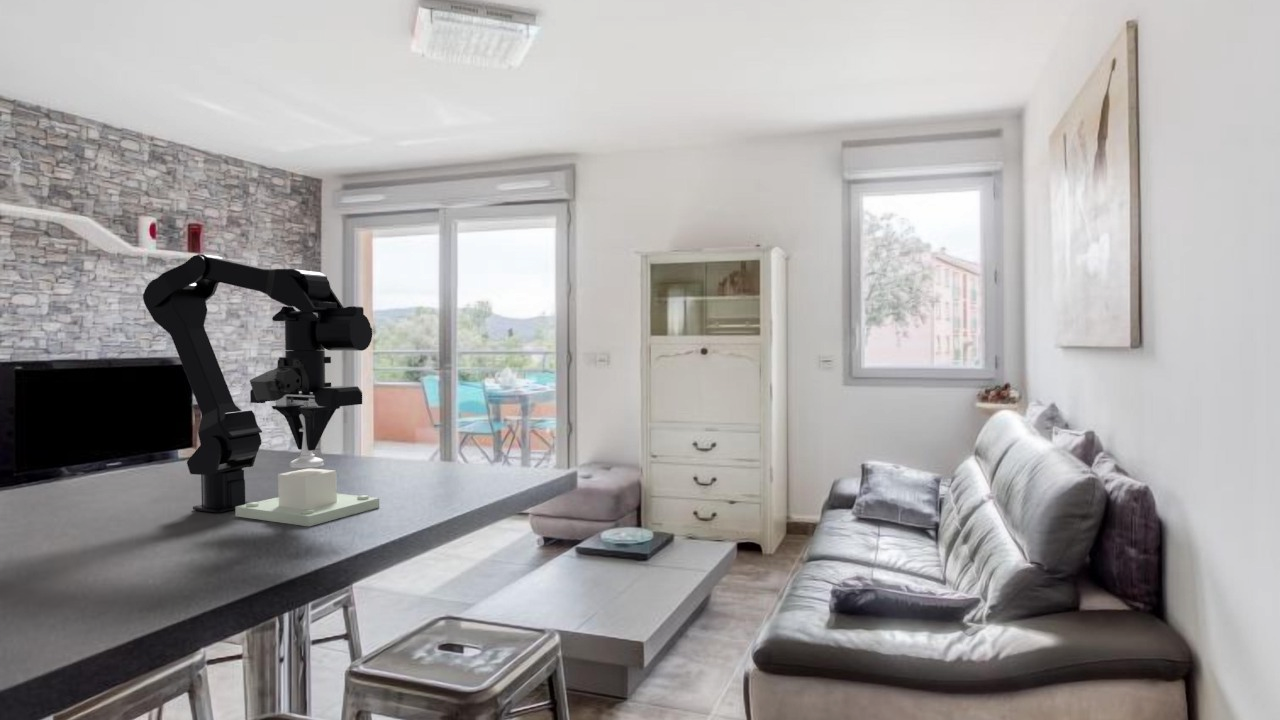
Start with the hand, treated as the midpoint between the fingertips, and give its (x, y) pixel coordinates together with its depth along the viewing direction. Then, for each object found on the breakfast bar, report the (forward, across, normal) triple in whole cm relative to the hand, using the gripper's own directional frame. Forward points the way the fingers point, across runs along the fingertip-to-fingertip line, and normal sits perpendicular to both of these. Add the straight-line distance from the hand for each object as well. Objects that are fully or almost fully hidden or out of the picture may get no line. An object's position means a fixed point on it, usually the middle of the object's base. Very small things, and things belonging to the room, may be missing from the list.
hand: (306, 449), depth 122 cm
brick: (+9, 0, 0) cm, 9 cm away
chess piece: (+3, 0, 0) cm, 3 cm away
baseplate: (+10, -1, +1) cm, 10 cm away
